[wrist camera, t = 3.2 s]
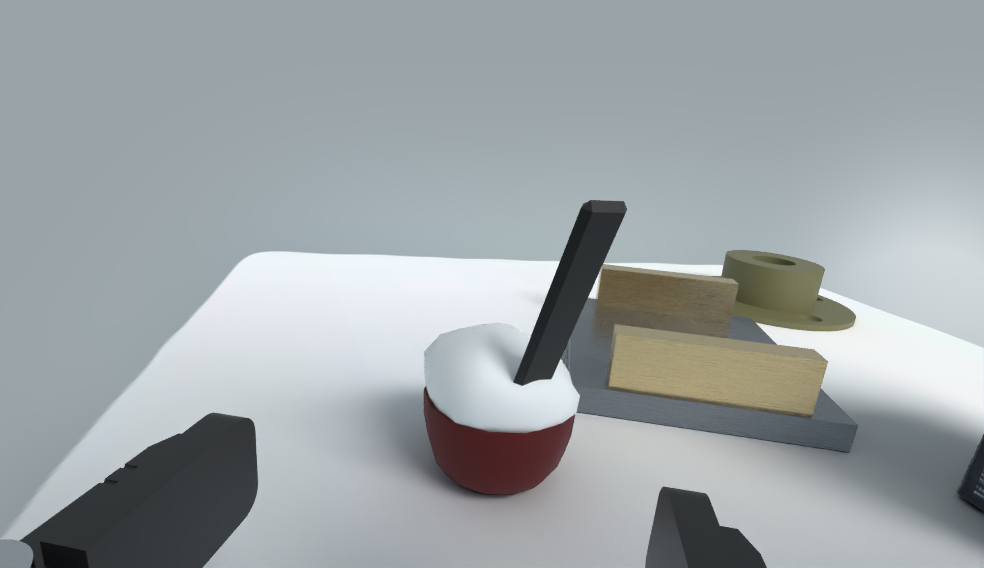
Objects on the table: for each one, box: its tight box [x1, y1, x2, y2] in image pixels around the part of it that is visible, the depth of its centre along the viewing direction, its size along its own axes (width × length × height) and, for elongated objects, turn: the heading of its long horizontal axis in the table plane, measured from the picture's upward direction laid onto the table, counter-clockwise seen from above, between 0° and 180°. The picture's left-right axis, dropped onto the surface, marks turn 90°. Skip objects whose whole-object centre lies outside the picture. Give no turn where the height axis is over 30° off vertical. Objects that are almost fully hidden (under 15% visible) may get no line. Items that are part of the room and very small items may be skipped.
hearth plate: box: [567, 264, 858, 452], centre depth 34 cm, size 14×16×4 cm
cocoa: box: [424, 200, 627, 495], centre depth 20 cm, size 10×6×12 cm, turn 6°
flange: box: [711, 250, 856, 331], centre depth 50 cm, size 5×15×15 cm
